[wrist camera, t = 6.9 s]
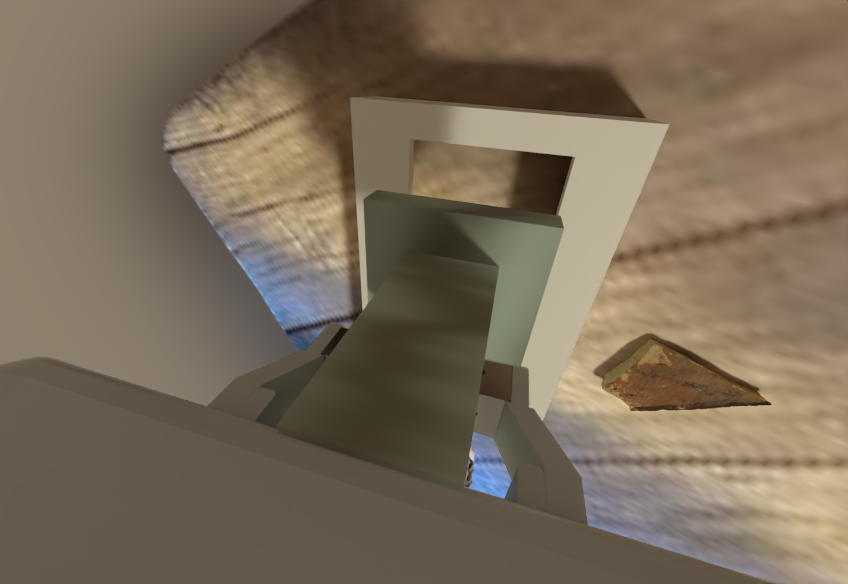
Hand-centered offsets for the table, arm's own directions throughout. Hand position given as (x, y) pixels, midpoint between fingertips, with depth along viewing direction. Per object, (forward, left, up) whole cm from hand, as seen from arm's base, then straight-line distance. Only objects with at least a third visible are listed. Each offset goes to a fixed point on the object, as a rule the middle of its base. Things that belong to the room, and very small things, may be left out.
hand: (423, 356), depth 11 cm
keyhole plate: (0, +6, -17) cm, 18 cm away
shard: (-19, +12, -18) cm, 29 cm away
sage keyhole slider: (0, 0, -6) cm, 6 cm away
